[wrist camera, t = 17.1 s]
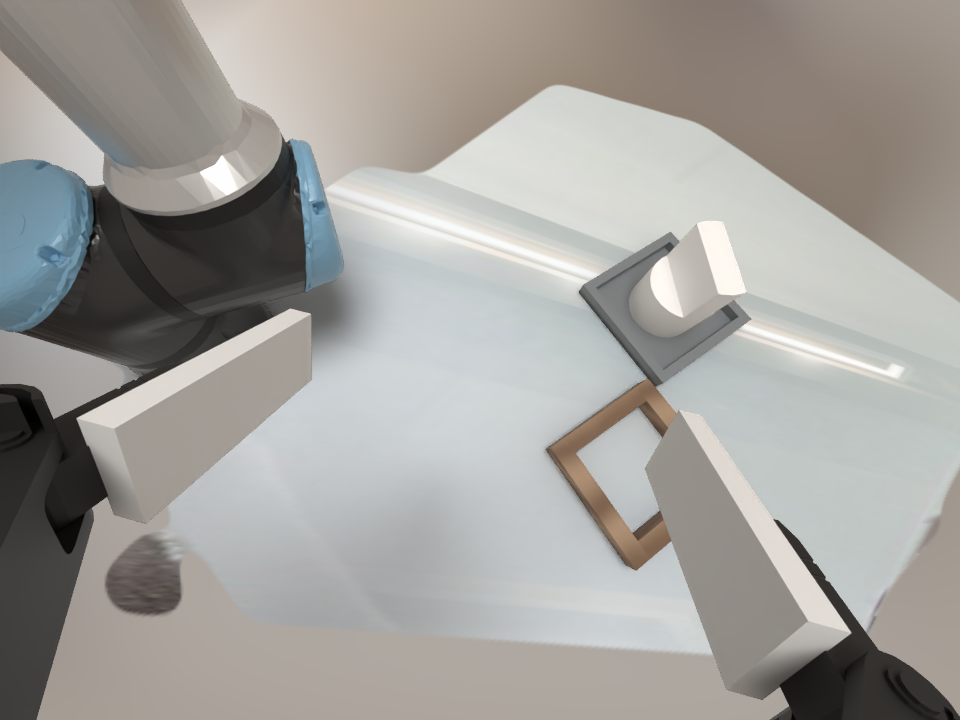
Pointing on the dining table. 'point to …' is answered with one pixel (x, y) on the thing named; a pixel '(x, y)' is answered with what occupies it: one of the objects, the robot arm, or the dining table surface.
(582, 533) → the dining table surface
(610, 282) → the charcoal tray
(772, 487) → the dining table surface
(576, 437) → the walnut collar
